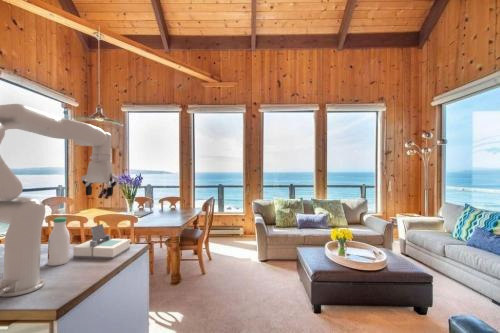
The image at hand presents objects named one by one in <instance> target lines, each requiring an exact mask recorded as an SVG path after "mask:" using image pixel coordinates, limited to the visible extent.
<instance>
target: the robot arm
mask: <svg viewBox="0 0 500 333" xmlns="http://www.w3.org/2000/svg"><path fill="white" fill-rule="evenodd" d="M7 130H21V131H24V132H29V133H33V134H36V135H40V136H44V137H47V138H52V139H56V140H57V139H61V140H72V141H73V143H74V144H76V145H78V146H81V147H92V148H91V149H92V150H91V155H90V156H89V157H88V158H89V159H90V160H89V162H88V166H87V170H86V174H84V175H82V176H80V179H81V182H82V184H83V185H84V186H85V196H91V195H92V193H93V186H92V185H94V184H106V185H107V188H106V189H107V190H106V191H107V193H106V196H107V197H111V196H113V194H114V187H115V186H116V185H118V182H119V181H120V177H119V176H117V175H115V174H114V168H113V163H112V161H111V156H112V155H111V154H112V138H113V137H112V134H111V133H110V132H106V131H104V130H103V129H102V128H100V127H97V126H95V125H93V124H90V123H85V122H82V121H78V120H74V119H69V118H64V117H60V116H57V115H53V114H50V113H48V112H45V111H42V110H39V109H37V108H34V107H31V106H29V105H28V106H27V105H25V104H20V103H11V104H10V103H8V104H0V145H1V144H2V141H3V140H4V138H5V134H6V131H7ZM113 179H114V180H113ZM23 188H24V187H23V184H22V182H21V180H20V179H19V178H18V177H17V176H16V174H15V173H14V172H13V170H12V169H11V168H10V167H9V166H8V164H6V163H5V160H4V159H3V158H2V156H1V155H0V223H3V224H7V225H8V224H9V226H8V228H7V230H6V233H5V235H4V236H5V237H4V243H3V244H4V245H3V246H4V249H3V250H4V252H3V253H4V255H3V272H2V273H3V275H2V276H3V277H2V280H0V297H4V298H7V297H16V296H21V295H22V296H23V295H26V294H29V293H32V292H34V291H37V290H39V289H41V288H42V287H43V286H45V285H46V284H45V283H46V282H45V281H46V280H45V279H44V278H42V277H40V275H41V274H40V273H41V253H42V252H41V249H42V247H41V246H42V231H43V230H42V228H43V225H44V224H43V223H44V220H45V217H46V216H45V215H46V207H45V204H44V203H43V202H42V201H40V200H39V199H38V198H34V197H26V196H21V195H22V193H23V190H24V189H23Z"/></svg>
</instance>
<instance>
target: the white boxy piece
mask: <svg viewBox="0 0 500 333" xmlns="http://www.w3.org/2000/svg"><path fill="white" fill-rule="evenodd" d="M105 235H106V237H107V238H108V239H107V240H105V241H103V242H101V243H99V244H97V241H94V239H93V237H92V238H91V239H90V240H87V241H84V242H82V243H80V244H78V245H75V246H73V256H72V258H74V259H97V260H98V259H99V260H114V259H116V258H117V257H119V256H120V255H122V254H124V253H126V252H127V251H129V250H130V248H131V239H130V238H128V239H127V238H111V237H112V236H111V234H105Z"/></svg>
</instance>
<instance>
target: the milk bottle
mask: <svg viewBox="0 0 500 333" xmlns="http://www.w3.org/2000/svg"><path fill="white" fill-rule="evenodd" d="M67 219H68V218H67V217H64V216H61V217H60V216H59V217H54V218H53V227H52V230H51V232H50V234H49V236H48V241H47V244H48V245H47V265H48V266H52V267H53V266H55V267H56V266H60V265H65V264H68V263H69V261H70V249H71V248H70V247H71V235H70V231H69V229H68V228H67V224H66V223H67Z"/></svg>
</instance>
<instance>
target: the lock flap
mask: <svg viewBox="0 0 500 333" xmlns="http://www.w3.org/2000/svg"><path fill="white" fill-rule="evenodd" d="M90 231H91V236H92V238H93V239H94V241H97V244H99V243H101V242H103V241H105V240H107V239H108V238H107V237H106V235H107V234H106V232H105V228H104V224H102V223H101V224H98V225H95V226H92V227H90Z"/></svg>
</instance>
